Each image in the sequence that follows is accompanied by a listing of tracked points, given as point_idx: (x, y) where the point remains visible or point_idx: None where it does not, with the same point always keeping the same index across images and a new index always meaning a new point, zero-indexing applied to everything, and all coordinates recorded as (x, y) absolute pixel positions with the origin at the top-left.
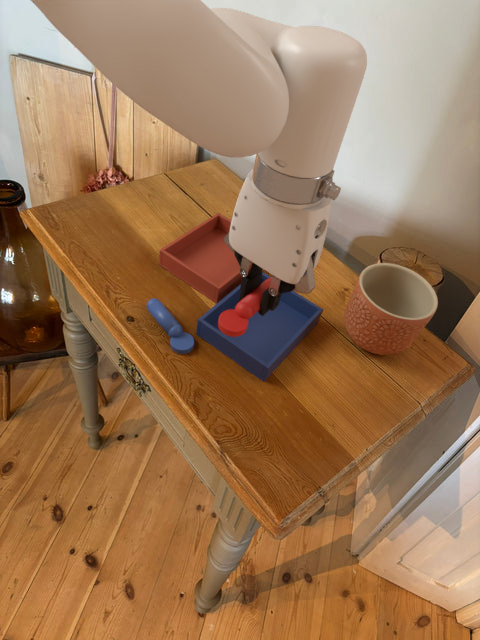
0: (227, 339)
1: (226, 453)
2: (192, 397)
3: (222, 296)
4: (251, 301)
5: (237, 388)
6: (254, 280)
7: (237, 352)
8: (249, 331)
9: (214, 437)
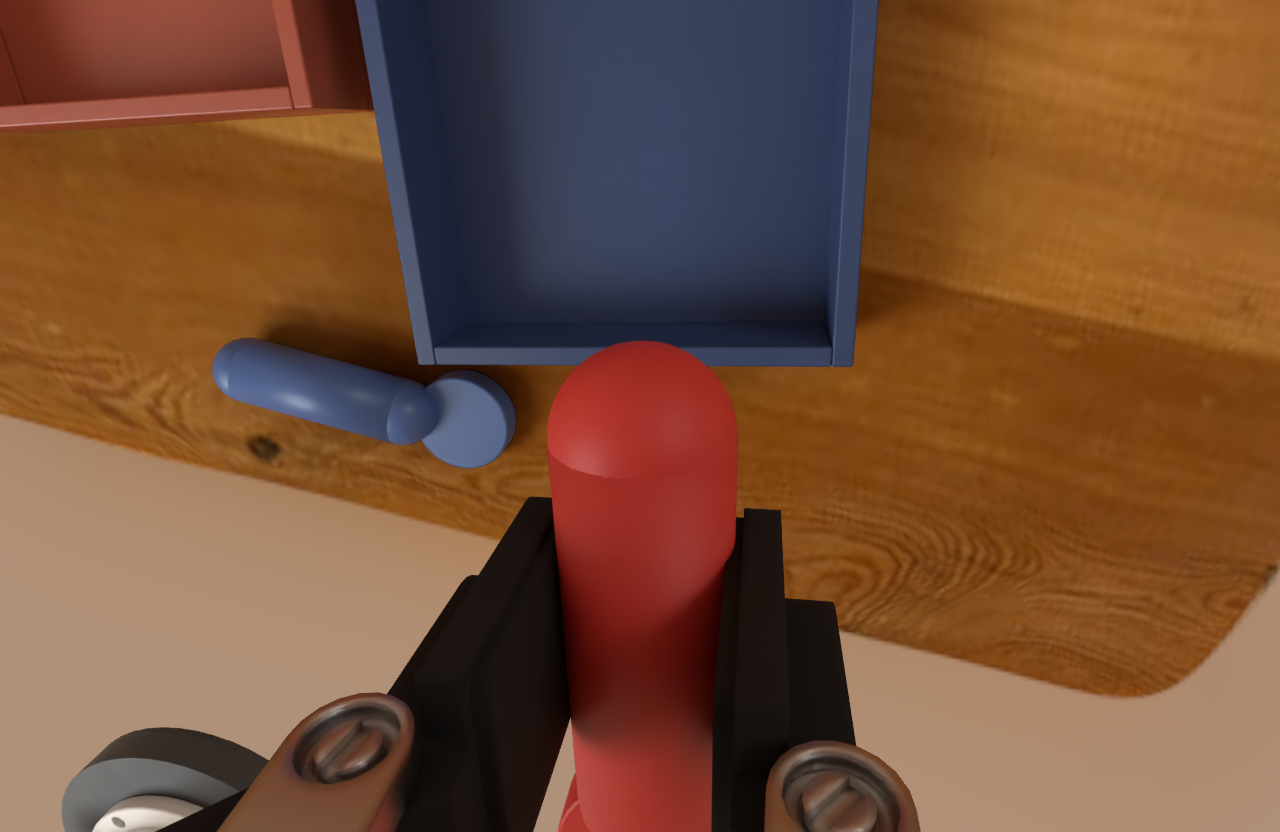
0: None
1: (894, 644)
2: None
3: (356, 60)
4: (656, 814)
5: (769, 430)
6: (519, 754)
7: None
8: (612, 147)
9: None
